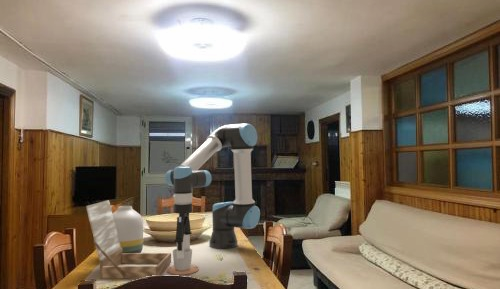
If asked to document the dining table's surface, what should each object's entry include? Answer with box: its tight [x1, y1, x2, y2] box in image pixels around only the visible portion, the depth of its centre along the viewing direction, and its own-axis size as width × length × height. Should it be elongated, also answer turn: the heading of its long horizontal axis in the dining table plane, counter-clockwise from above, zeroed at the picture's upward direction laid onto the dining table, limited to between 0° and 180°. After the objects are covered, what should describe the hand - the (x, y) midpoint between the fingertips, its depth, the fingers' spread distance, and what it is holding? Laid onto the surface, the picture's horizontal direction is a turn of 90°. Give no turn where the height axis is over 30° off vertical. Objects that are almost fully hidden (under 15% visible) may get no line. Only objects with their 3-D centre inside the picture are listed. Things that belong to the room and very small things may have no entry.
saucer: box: [166, 264, 200, 276], centre depth 159 cm, size 13×13×1 cm
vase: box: [112, 205, 144, 253], centre depth 182 cm, size 17×17×24 cm
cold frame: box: [85, 199, 172, 279], centre depth 159 cm, size 29×23×28 cm
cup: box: [172, 248, 193, 271], centre depth 159 cm, size 11×8×8 cm
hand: (183, 253), depth 159 cm, fingers open, 13 cm apart
